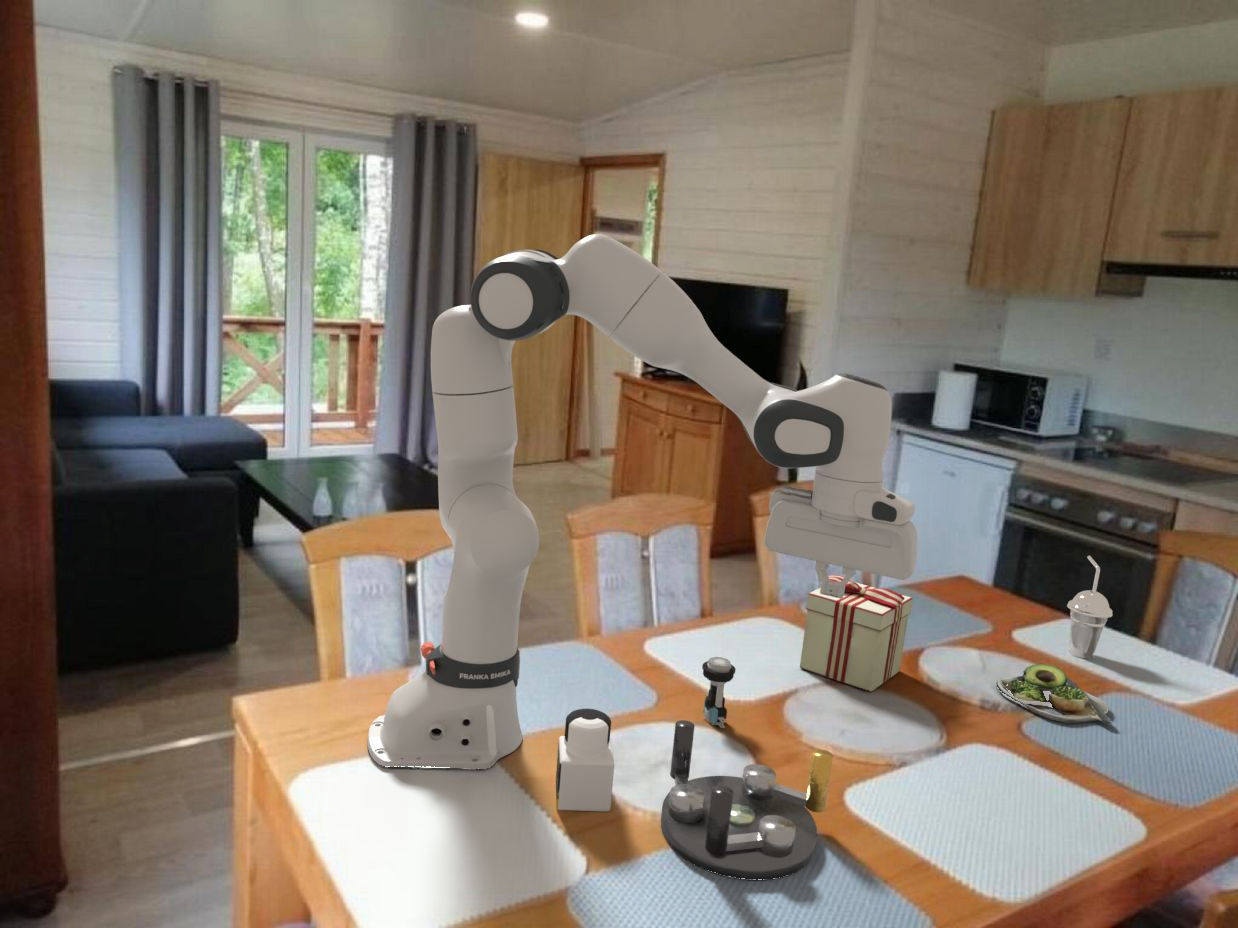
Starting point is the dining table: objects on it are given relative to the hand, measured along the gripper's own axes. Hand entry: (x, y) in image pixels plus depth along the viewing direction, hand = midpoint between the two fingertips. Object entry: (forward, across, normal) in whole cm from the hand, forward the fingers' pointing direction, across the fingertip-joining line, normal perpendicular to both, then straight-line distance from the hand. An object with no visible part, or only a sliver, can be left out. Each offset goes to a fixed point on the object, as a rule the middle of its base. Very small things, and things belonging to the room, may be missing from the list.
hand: (831, 595), depth 127 cm
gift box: (+28, -6, +49) cm, 57 cm away
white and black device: (+30, -25, -20) cm, 44 cm away
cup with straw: (+27, +33, +88) cm, 97 cm away
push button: (+29, -19, +12) cm, 36 cm away
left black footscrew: (+27, -12, -15) cm, 34 cm away
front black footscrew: (+27, -1, -21) cm, 35 cm away
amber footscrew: (+27, -1, -8) cm, 28 cm away
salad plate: (+28, +29, +58) cm, 71 cm away
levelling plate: (+30, -4, -15) cm, 33 cm away
